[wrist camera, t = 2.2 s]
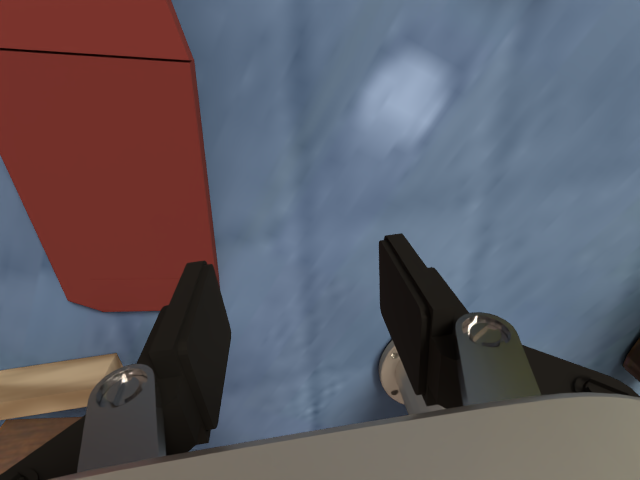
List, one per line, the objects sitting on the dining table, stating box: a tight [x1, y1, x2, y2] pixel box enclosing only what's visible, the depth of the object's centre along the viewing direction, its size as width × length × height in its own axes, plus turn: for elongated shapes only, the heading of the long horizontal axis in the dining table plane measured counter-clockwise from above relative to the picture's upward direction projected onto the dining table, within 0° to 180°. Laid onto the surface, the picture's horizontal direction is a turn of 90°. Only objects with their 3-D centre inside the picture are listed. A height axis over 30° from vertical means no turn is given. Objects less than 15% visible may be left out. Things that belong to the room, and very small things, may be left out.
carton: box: [0, 0, 220, 312], centre depth 26 cm, size 12×5×25 cm
